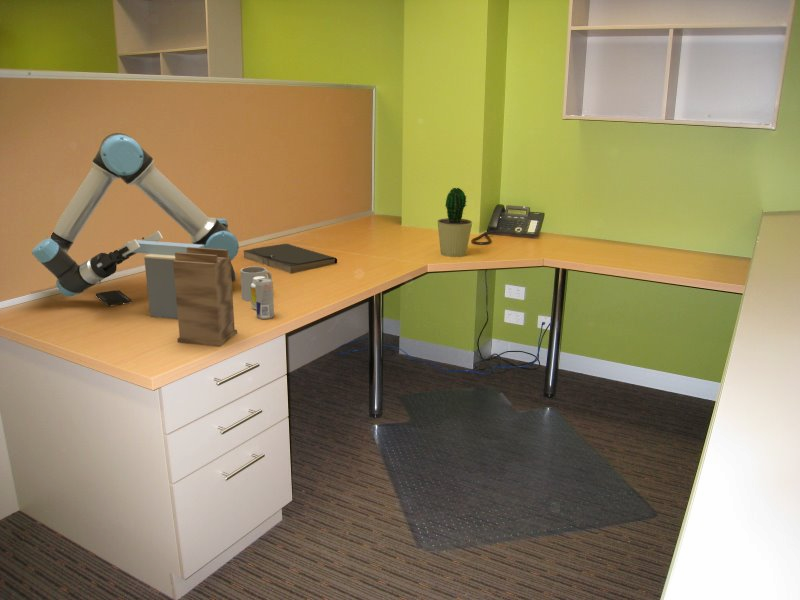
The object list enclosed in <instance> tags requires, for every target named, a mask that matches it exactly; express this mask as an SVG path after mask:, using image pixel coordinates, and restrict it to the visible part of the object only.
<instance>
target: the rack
mask: <svg viewBox="0 0 800 600" xmlns="http://www.w3.org/2000/svg"><path fill="white" fill-rule="evenodd" d="M231 264H232V260H231V259H230V256H228V250H224V249H210V248H196V247H187V253H181V252H176V253H175V261H173V267H174V279H175V290H176V301H177V313H178V319H177V322H178V333H179V336H178V338H177V341H176V342H177V343H182V344H192V345H193V344H194V345H203V346H212V347H214V346H215V347H222V346H223V345H224V344H226V343H227V342H228V341H229V340H230V339H231V338H233V337H234V336H235V335H236V334H238V329H236V327H235V313H234V298H233V297H234V296H233V295H234V294H233V282H232V276H231Z"/></svg>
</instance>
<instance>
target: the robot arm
mask: <svg viewBox="0 0 800 600" xmlns="http://www.w3.org/2000/svg"><path fill="white" fill-rule="evenodd" d="M91 164H92V167H91V169H90V170H89V171H88V174H87V175H86V177H85V178H84V179H83V181H82V183H81V184H80V186H79V188H78V189H77V190H76V192H75V193H74V195H73V197H72V198H71V200H70V201H69V203H68V204H67V206H66V207H65V209H64V210H63V212H62V214H61V215H60V216H59V218H60V219H59V218H58V219H57V221H58V222H57V221H56V223H57V224H56V223H55V224H56V226H55V225H54V226H55V229H54V232H53V233H52V235H51V238H47V237H46V238H47V239H46V238H45V239H43V240H42V241H40V242H39V243H38V244H37V245H35V247H33V249H32V250H31V254H32V256H34V258H35V259H36V260H37V261H38V262H39V263H40V264H41V265H42V266H43V267H44V268H45V269H47V270H48V271H49V272H50V273H51V274H52V275H53V276H54V277H55V278H56V283H55V284H56V288H57V289H58V291H59V293H60V294H62V295H63V296H65V297H74V296H77V295H78V294H81V293H83V292H84V291H86V290H88V289H90V288H91V287H93V286H94V285H96V284H98V285H100V284H101V283H102V281H103V280H105V279H107V278H108V277H110V276H113V275H114V274H115V273H116V272H117V269H118V268H117V265H120V264H122V263H123V262H124V261H126V260H128V259H130V257H132V256H134V255H136V254H137V253H133V252H132V251H134V250H136V249H137V248H139V247H140V245H139V244H138V242H137V241H136V240H137V238H134V239H132V240H130V241H131V242H129V241H128V242H129V243H127V242H126V243H127V244H126V243H125V244H124V245H122V246H120V247H119V248H118V249H115V250H114V251H110V252H108V253H107V252H100V253H98V254H96V255H95V256H92V258H89V259H87V260H85V261H84V262H82V263H80V264H79V263H77V262H76V260H74V258H72V257H71V256H70V255H69V254H68V253H69V250H70V249H71V247H72V246H73V244H74V242H75V241H76V239H77V238H78V236H79V235H80V233H81V231H83V228H84V227H85V225H86V224H87V222H88V221H89V220H90V218H91V217H92V215H93V214H94V212H95V211H96V209H97V207H98V206H99V204H100V203H101V201H102V200H103V198H104V197H105V195H106V193H107V192H108V191H109V189H110V187H111V186H112V184H113V183H114V181H115V180H119V179H121V180H122V181H123V182H124V183H126V185H129V186H136V188H138V190H140V191H141V192H143V194H144V195H145V196H146V197H147V198H148V199H150V200H151V201H152V202H153V203H154V204H155V205H156V206H157V207H159V209H161V210H162V212H163V211H164V213H165V214H166V215H167V216H169V217H170V218H171V219H172V220H173V221H174V222H175V223H176V224H177V225H178V226H180V228H182V229H183V230H184V231H185V232H186V233H187V234H189V236H190V242H191V244H199V245H205V248H210V249H224V250H228V256H230V259H231V261H233V260H234V259H235V258H236V257H237V255H238V252H239V248H240V244H239V240H238V238H237V237H236V236H235V234H234V233H233V232H230V231H229V224H228V221H227V220H228V219H227V218H220V217H219V218H218V217H209V216H208V215H206V214H205V213H204V211H202V210H201V209H200V208H199V207H198V206H197V205H196V204H195V203H194V202H193V201H192V200H191V199H190V198H189V197H187V195H186V194H184V193H183V192H182V191H181V190H180V189H179V188H178V187H177V186H176V185H175V184H174V183H173V182H171V180H169V178H167V177H166V176H165V175H164V174H163V173H162V172H161V171H160V170H159V169H158V168H156V166H155V160H154V158H153V157H152V156H151V155H150V154H149V153H148V152H147V151H146V150H144V148H143V147H142V146H141V145H140V144H139V142H137V141H136V140H135V139H134V138H132V137H131V136H129V135H128V134H125V133H121V132H120V133H119V132H116V133H111V134H108V135H107V136H105V138H104V139H103V140H102V141H101V143H100V146H99V148H98V151H97V153H96V154H95V156H94V158H93V159H92V161H91ZM141 239H142V241H156V242H160V240H162V239H164V237H163V235H162V234H161V232H160V231H159V230H156V231H155V232H152V233H151V234H150V235H148V236H147V237H142V238H141ZM231 276H232V283H233V282H235V281H236V272H235V269H234V267H233V264H232V263H231Z"/></svg>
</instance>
